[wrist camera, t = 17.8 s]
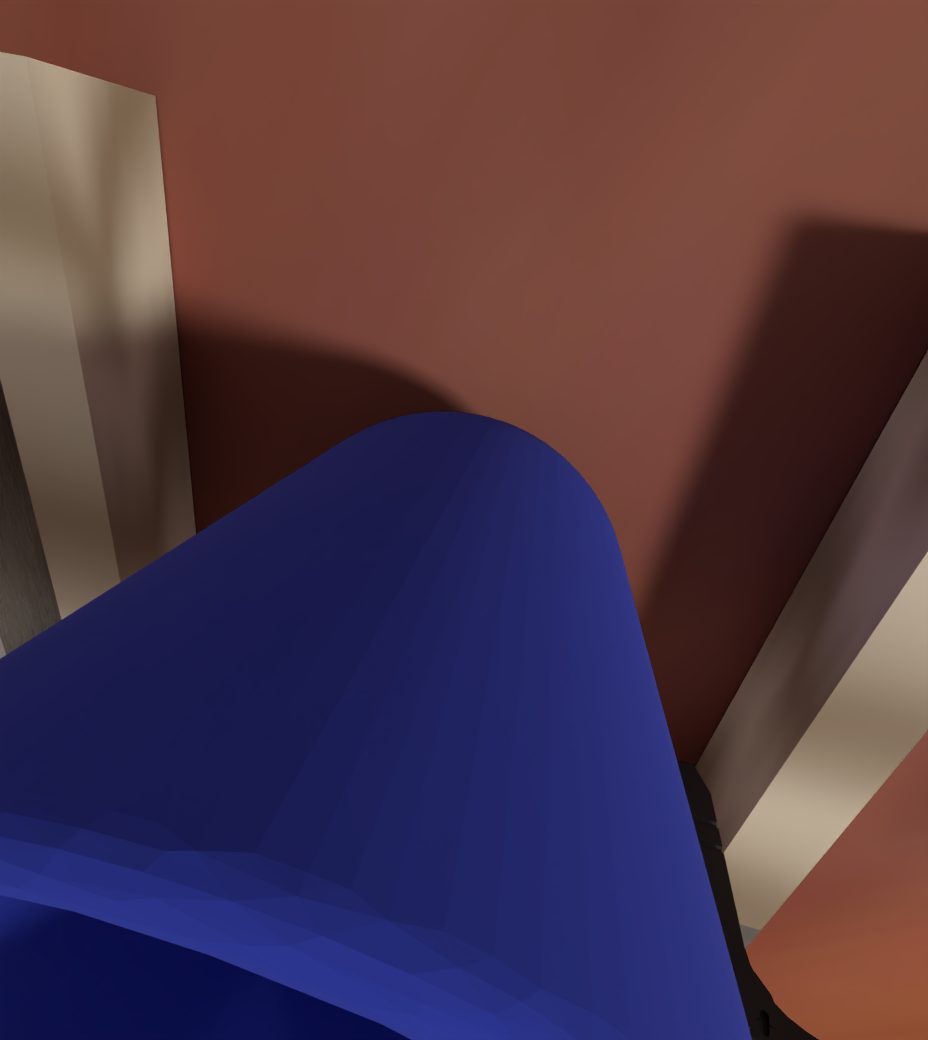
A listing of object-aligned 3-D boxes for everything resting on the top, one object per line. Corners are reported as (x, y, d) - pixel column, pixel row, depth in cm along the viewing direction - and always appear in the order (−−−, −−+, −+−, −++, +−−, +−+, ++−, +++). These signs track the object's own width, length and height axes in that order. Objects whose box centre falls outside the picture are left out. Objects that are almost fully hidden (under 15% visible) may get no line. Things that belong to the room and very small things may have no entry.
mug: (374, 769, 17) (162, 1315, 9) (250, 384, 12) (-605, 784, 3) (651, 786, 15) (737, 1513, 7) (646, 335, 10) (1015, 982, 1)
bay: (66, 80, 11) (-87, 38, 9) (1112, 261, 10) (1309, 273, 7) (161, 695, 20) (98, 765, 18) (717, 853, 18) (738, 956, 16)
